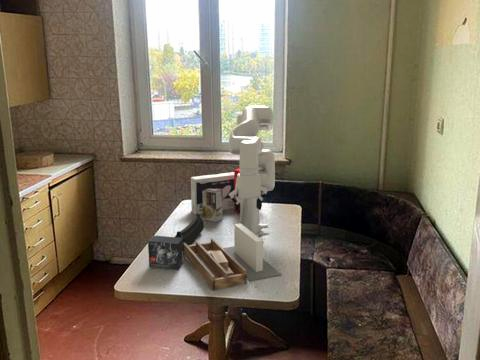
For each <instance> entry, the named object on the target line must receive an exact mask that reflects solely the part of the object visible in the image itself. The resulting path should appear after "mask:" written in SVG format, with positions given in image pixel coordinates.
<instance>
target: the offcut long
mask: <svg viewBox="0 0 480 360" xmlns="http://www.w3.org/2000/svg"><path fill="white" fill-rule="evenodd" d="M212 251H216V250H212ZM207 252H208V253H209V254H210V252H211V251H207ZM224 269H225V270H226V271H227V272H228V276H231V275H234V273H233V272H232V270H231V269H230V268H229V267H226V268H224Z"/></svg>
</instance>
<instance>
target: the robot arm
mask: <svg viewBox="0 0 480 360" xmlns="http://www.w3.org/2000/svg"><path fill="white" fill-rule="evenodd" d="M274 120H275V119H274V112H273V109H272V108H271V107H270V106H267V105H249V106H246V107H245V108H243V109H242V111H241V112H240V113H239V114H238V115H237V116H236V124H237V126H235V127H233V128H232V130H231V132H230V133H229V140H228V150H229V152H230V153H231V154H232V155H237V156H239V169H240V174H238V175H237V179H236V188H235V190H234V191H232V192H231V193H229V196H230V198H231V200H232V201H233V202H235V211H236V212H237V213H240V215H239V224H242V225H243V226H245V227H246V228H247V229H249V230H250V231H251V232H253V233H254V234H255V235H256V236H258V237H260V236H262V234H263V229H268V228H269V224H267V223H266V224H264V223H260V211H261V210H262V206H263V201H264V198H265V197H266V196H267V193H268V192H270V191H273V190H274V188H275V185H276V184H275V182H276V174H275V173H276V168H275V167H276V164H275V163H276V162H275V159H276V158H275V154H274V152H273V150H271V149H264V141H263V140H262V138H260V137H258V136H257V135H258V133H259V132H260V131H269V130H271V129H272V127H273V124H274ZM234 195H236V196H237V197H236V198H234ZM239 202H240V204H239Z"/></svg>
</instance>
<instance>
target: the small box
mask: <svg viewBox="0 0 480 360" xmlns="http://www.w3.org/2000/svg"><path fill="white" fill-rule="evenodd" d="M147 246H148V247H147V248H148V268H150V269H159V270H160V269H161V270H170V271H171V270H172V271H180V270H181V268H182V266H183V264H184V255H183V238H178V237H175V236H164V235H152V236H151V237H150V239H149V240H148V241H147Z"/></svg>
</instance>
